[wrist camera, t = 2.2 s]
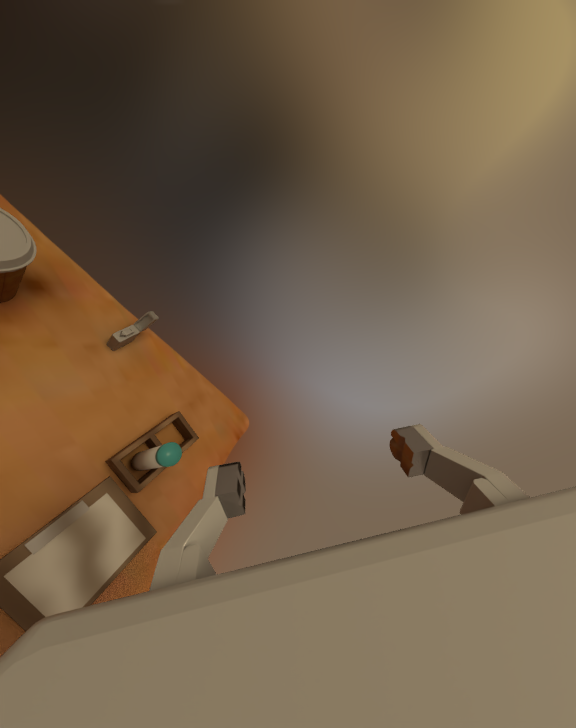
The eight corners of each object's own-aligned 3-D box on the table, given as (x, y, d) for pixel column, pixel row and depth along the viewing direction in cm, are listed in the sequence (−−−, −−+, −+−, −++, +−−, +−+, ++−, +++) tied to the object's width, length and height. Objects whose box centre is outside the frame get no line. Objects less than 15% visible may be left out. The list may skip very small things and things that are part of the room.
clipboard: (47, 650, 27) (49, 656, 26) (-27, 580, 25) (-29, 583, 24) (155, 531, 38) (159, 532, 37) (109, 476, 36) (111, 476, 35)
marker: (134, 475, 38) (167, 471, 30) (123, 461, 38) (153, 453, 30) (151, 461, 41) (186, 454, 33) (141, 448, 40) (173, 437, 32)
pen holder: (131, 492, 37) (138, 492, 35) (105, 461, 36) (110, 459, 34) (190, 440, 47) (199, 438, 45) (171, 414, 46) (179, 411, 44)
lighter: (113, 351, 42) (126, 333, 37) (105, 343, 42) (117, 324, 37) (145, 334, 48) (160, 316, 43) (139, 327, 47) (153, 309, 42)
